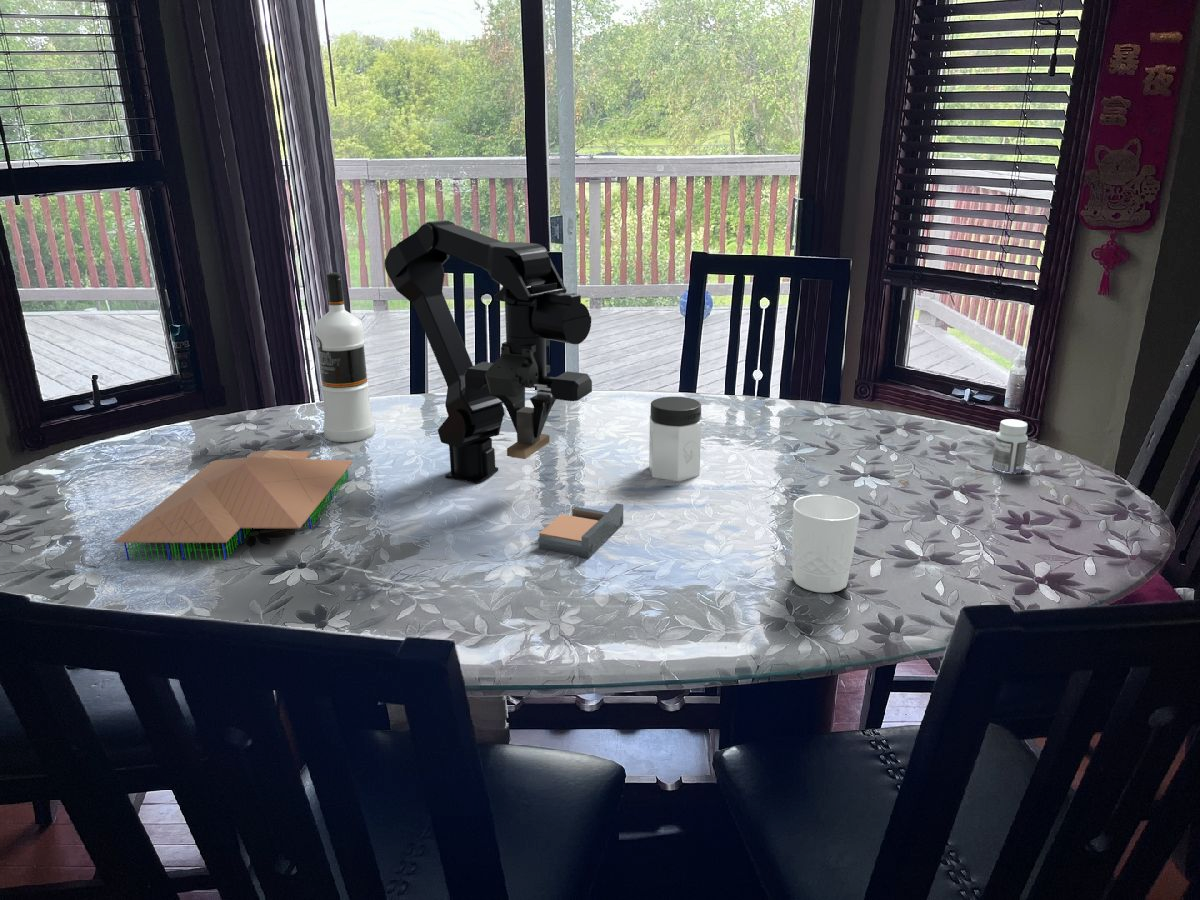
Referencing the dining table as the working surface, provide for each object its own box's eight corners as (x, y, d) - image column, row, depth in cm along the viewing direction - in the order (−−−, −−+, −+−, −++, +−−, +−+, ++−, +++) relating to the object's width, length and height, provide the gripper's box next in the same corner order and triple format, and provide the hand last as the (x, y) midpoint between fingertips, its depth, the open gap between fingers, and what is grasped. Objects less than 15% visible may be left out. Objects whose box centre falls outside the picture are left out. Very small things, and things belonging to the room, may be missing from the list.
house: (359, 473, 148) (355, 426, 145) (291, 564, 117) (283, 507, 114) (223, 473, 148) (215, 426, 145) (118, 564, 117) (106, 507, 114)
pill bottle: (1016, 466, 148) (1024, 418, 145) (1026, 477, 144) (1034, 427, 141) (987, 465, 149) (994, 417, 146) (996, 476, 144) (1003, 426, 141)
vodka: (380, 440, 162) (364, 274, 152) (327, 447, 159) (308, 278, 148) (371, 426, 170) (356, 267, 160) (321, 432, 167) (302, 270, 156)
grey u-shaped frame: (538, 548, 120) (537, 528, 119) (575, 515, 130) (575, 496, 129) (588, 558, 117) (588, 537, 116) (623, 523, 127) (623, 504, 126)
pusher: (507, 456, 132) (505, 416, 130) (532, 439, 139) (531, 401, 136) (525, 459, 131) (524, 419, 128) (549, 442, 138) (548, 403, 135)
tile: (539, 543, 123) (539, 533, 122) (561, 524, 129) (561, 514, 128) (585, 552, 120) (585, 541, 119) (606, 532, 126) (606, 521, 125)
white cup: (780, 567, 115) (785, 495, 111) (840, 564, 115) (846, 493, 112) (798, 597, 107) (804, 521, 104) (862, 594, 108) (870, 518, 104)
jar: (667, 486, 141) (669, 414, 137) (637, 470, 147) (638, 401, 143) (710, 474, 145) (713, 404, 141) (680, 460, 152) (682, 393, 148)
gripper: (440, 339, 125) (446, 444, 131) (559, 352, 118) (560, 462, 124) (480, 324, 135) (485, 422, 140) (593, 335, 128) (593, 438, 133)
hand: (528, 435), depth 134 cm, fingers closed on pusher, 2 cm apart
